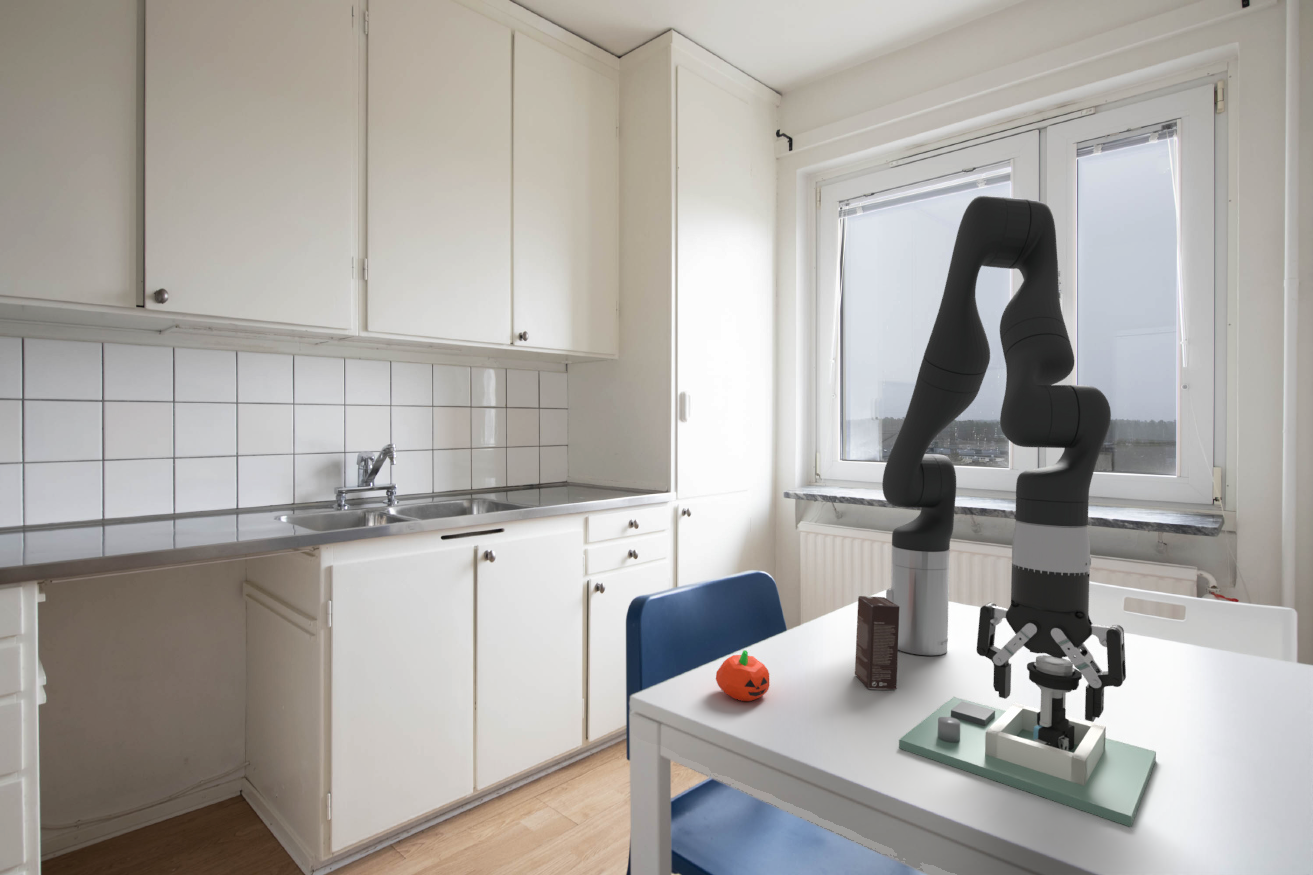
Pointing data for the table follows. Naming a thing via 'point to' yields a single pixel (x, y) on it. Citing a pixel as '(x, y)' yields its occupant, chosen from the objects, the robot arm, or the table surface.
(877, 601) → the box
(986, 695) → the table surface
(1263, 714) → the table surface
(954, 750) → the board
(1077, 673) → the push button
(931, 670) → the table surface
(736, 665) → the pumpkin
